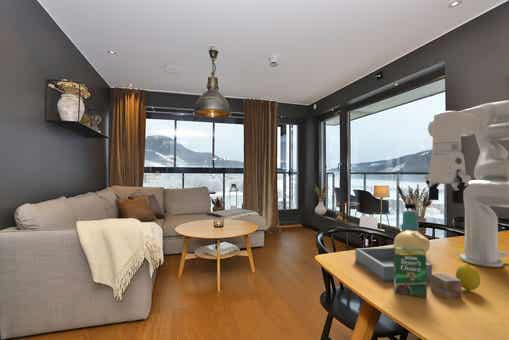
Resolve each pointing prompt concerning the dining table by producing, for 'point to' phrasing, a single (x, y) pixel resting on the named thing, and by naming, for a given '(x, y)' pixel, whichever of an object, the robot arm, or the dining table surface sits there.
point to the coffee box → (410, 271)
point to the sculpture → (411, 240)
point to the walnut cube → (446, 285)
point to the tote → (381, 262)
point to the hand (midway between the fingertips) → (444, 201)
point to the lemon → (468, 277)
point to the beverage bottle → (410, 218)
